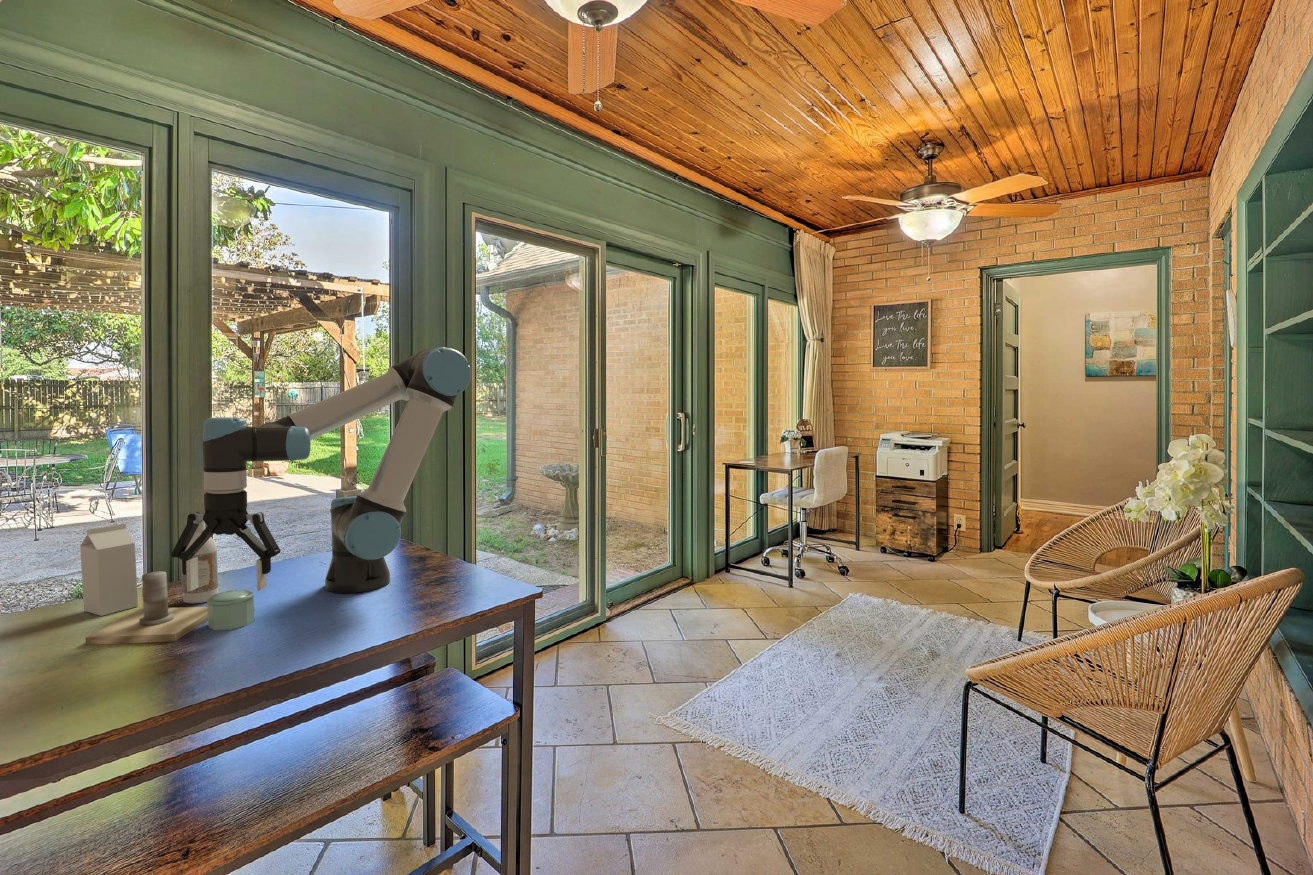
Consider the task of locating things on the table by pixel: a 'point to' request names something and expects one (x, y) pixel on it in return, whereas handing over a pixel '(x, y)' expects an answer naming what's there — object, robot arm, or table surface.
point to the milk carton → (108, 570)
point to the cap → (230, 609)
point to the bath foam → (203, 571)
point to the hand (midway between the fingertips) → (227, 589)
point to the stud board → (150, 632)
